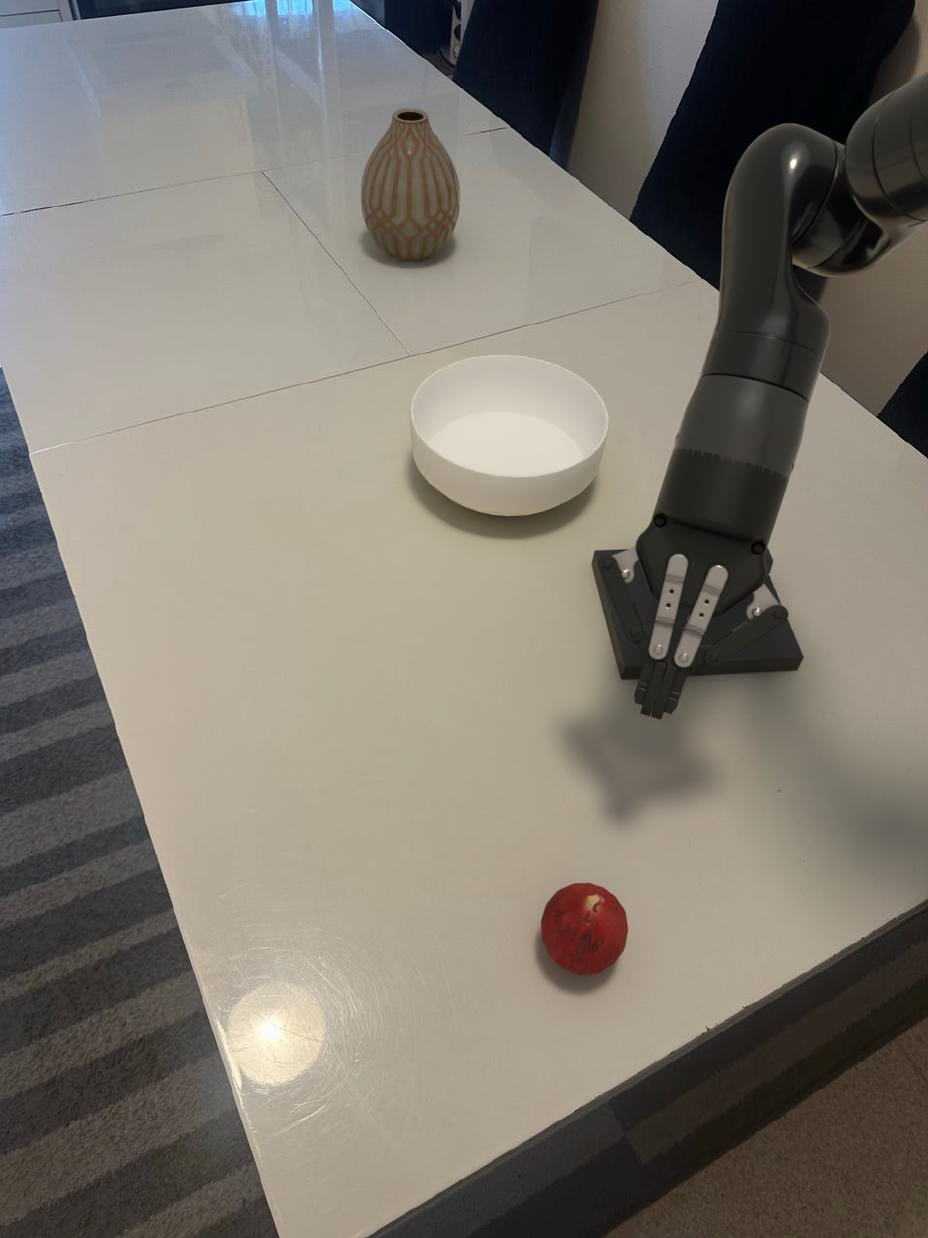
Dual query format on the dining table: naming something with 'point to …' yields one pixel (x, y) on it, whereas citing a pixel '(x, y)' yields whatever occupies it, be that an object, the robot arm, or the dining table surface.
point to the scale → (760, 656)
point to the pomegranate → (584, 928)
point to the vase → (410, 189)
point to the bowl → (507, 433)
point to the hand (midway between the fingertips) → (651, 715)
